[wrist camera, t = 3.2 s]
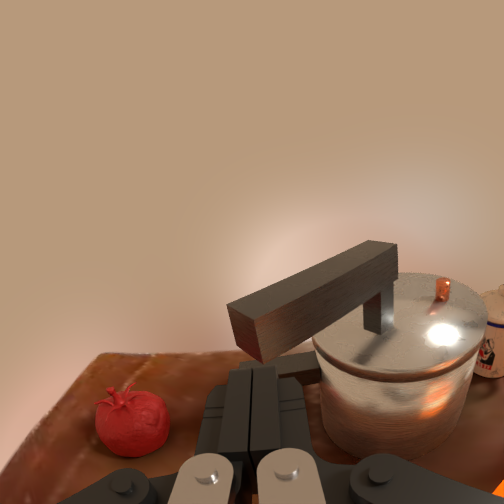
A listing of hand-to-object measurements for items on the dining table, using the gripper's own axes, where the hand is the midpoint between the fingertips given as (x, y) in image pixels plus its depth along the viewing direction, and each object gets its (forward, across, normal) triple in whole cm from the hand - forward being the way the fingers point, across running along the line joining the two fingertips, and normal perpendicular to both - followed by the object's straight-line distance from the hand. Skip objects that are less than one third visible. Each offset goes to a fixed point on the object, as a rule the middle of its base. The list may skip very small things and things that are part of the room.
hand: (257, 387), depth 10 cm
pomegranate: (+17, +19, +23) cm, 34 cm away
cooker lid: (+15, -10, +9) cm, 20 cm away
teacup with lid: (+17, -30, +22) cm, 41 cm away
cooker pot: (+18, -9, +22) cm, 29 cm away
